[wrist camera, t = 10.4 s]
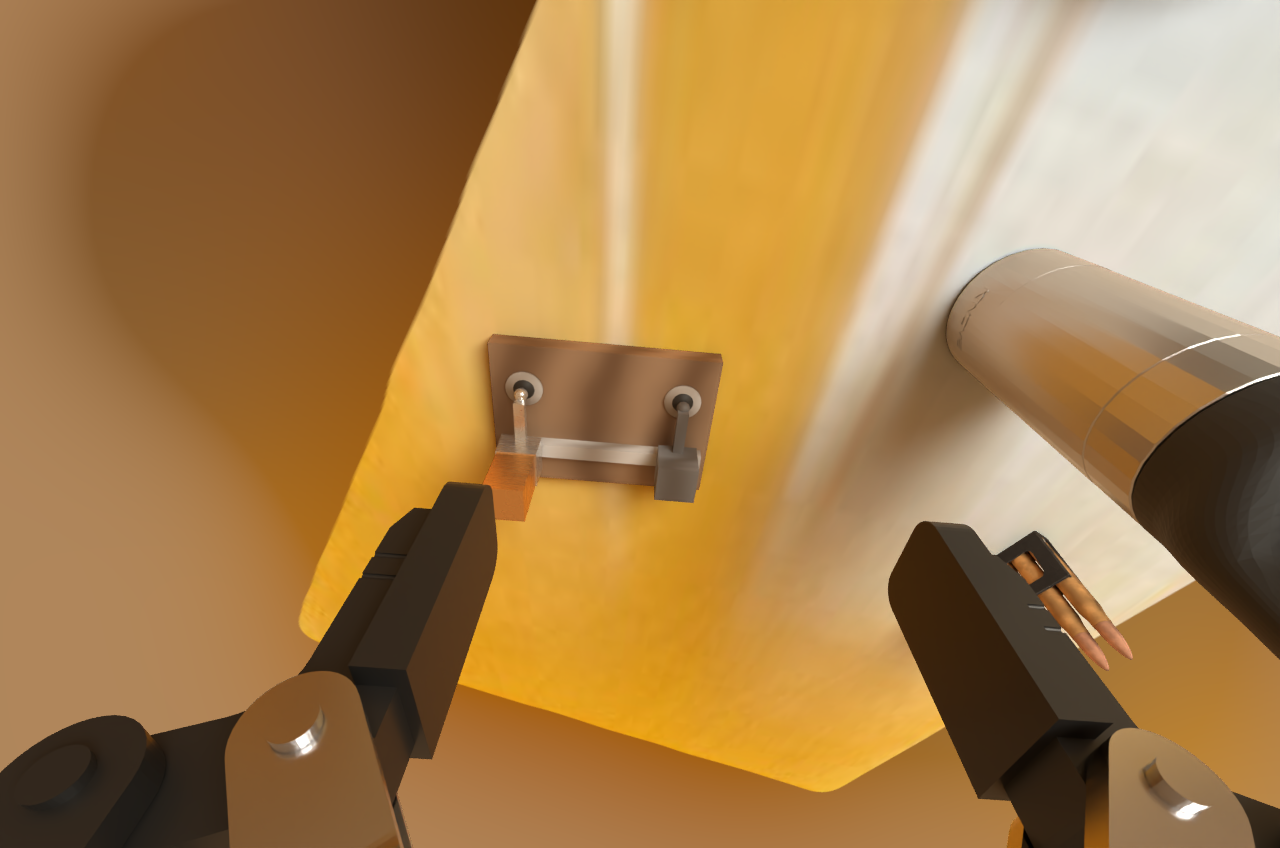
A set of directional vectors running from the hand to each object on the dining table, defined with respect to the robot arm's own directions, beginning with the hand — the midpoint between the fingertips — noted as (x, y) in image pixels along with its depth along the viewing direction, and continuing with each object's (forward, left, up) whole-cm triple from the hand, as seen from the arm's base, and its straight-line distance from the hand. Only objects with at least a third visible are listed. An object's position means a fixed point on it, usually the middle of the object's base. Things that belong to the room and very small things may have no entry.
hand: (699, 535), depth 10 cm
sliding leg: (+10, +16, -26) cm, 32 cm away
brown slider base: (+4, +15, -28) cm, 32 cm away
